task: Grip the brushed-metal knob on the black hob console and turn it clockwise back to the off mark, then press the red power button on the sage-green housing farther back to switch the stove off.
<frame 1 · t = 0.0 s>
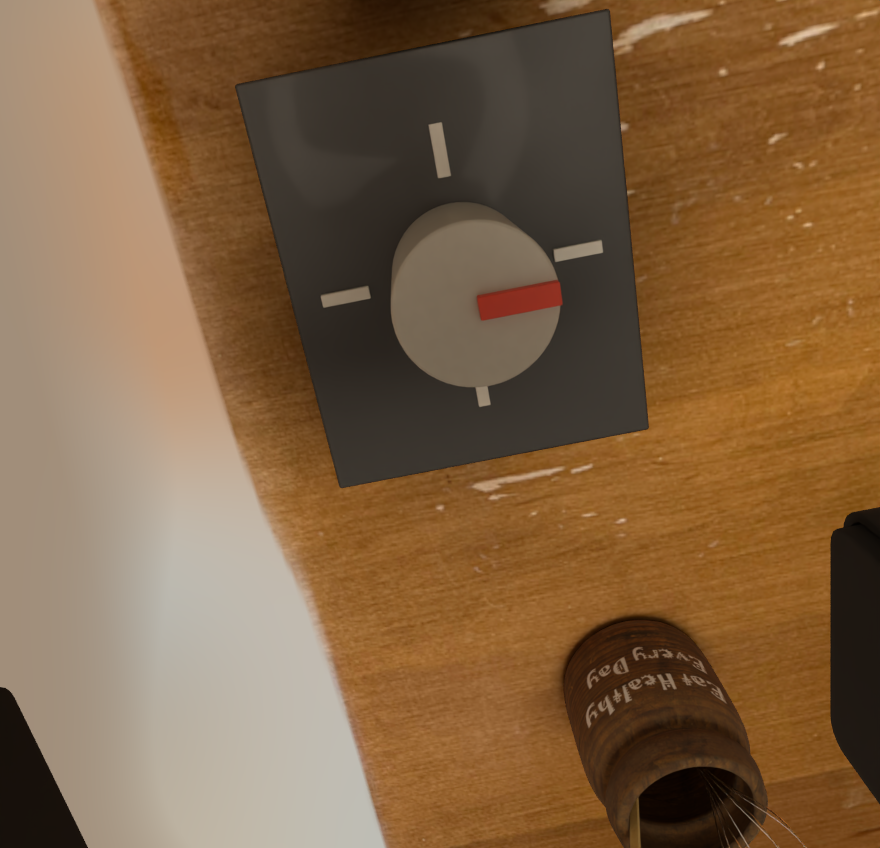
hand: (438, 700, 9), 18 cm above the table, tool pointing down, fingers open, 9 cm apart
utensil holder: (626, 671, 32), on the table
hob console: (454, 257, 25), on the table
hob knob: (468, 289, 20), point 5 cm above the table, hinge at 90.0°
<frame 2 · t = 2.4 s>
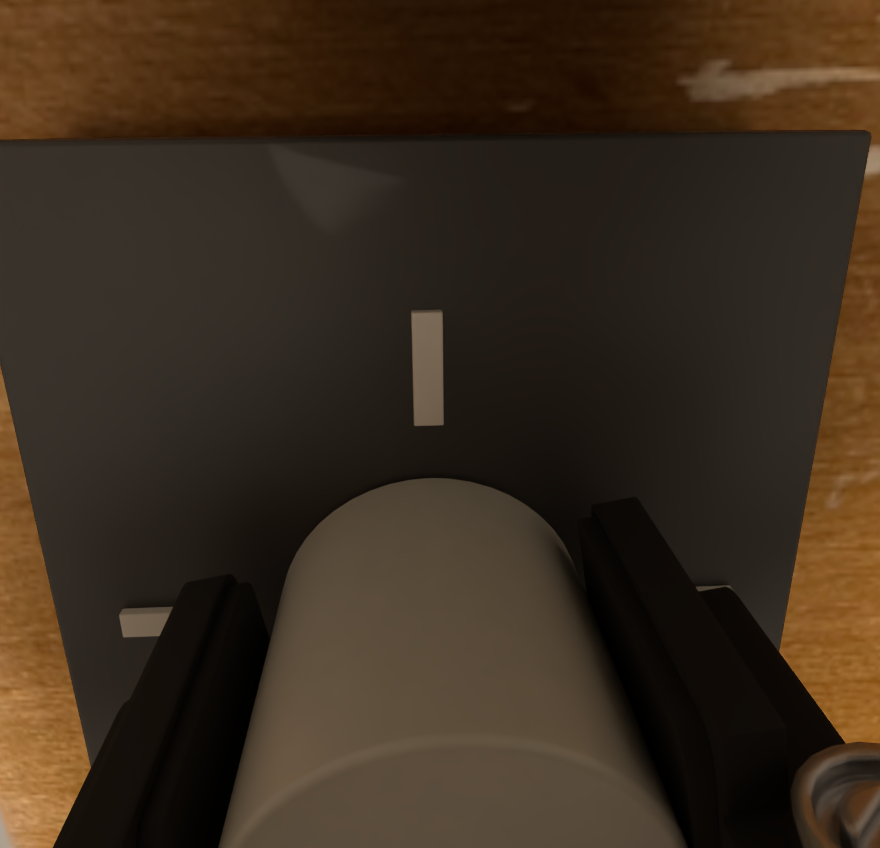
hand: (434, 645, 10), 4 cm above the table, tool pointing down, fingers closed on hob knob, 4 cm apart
hob console: (424, 506, 13), on the table
hob knob: (441, 741, 8), point 5 cm above the table, hinge at 89.9°, touching gripper
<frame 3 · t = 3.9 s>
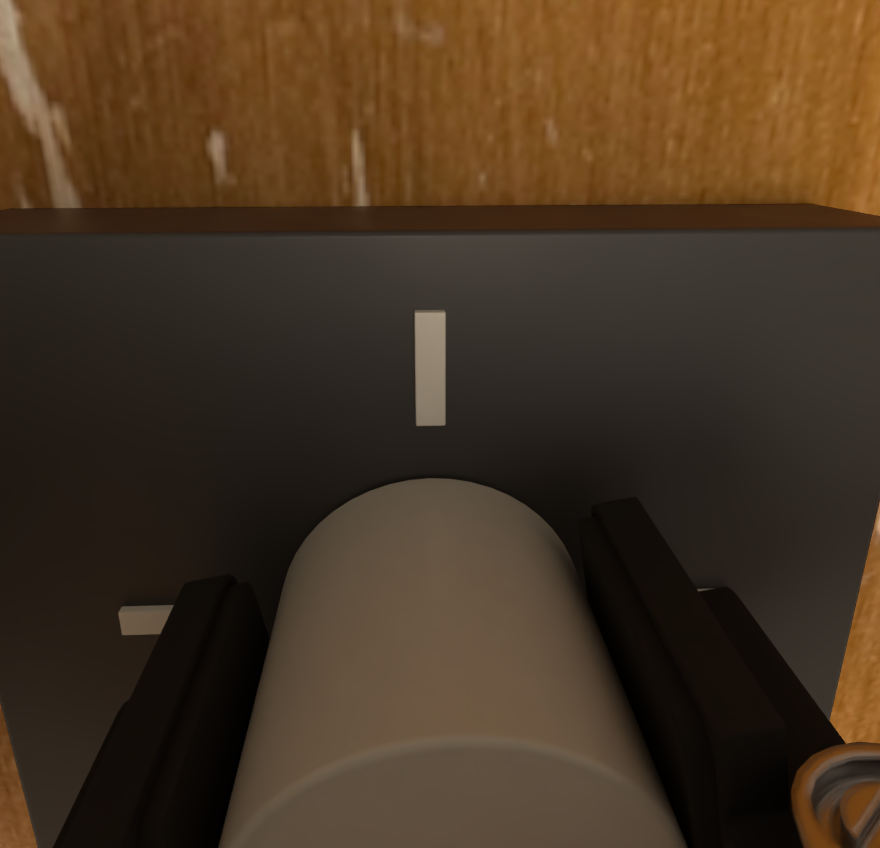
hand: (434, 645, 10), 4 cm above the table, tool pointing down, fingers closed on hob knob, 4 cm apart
hob console: (424, 506, 13), on the table
hob knob: (441, 742, 8), point 5 cm above the table, hinge at 0.5°, touching gripper
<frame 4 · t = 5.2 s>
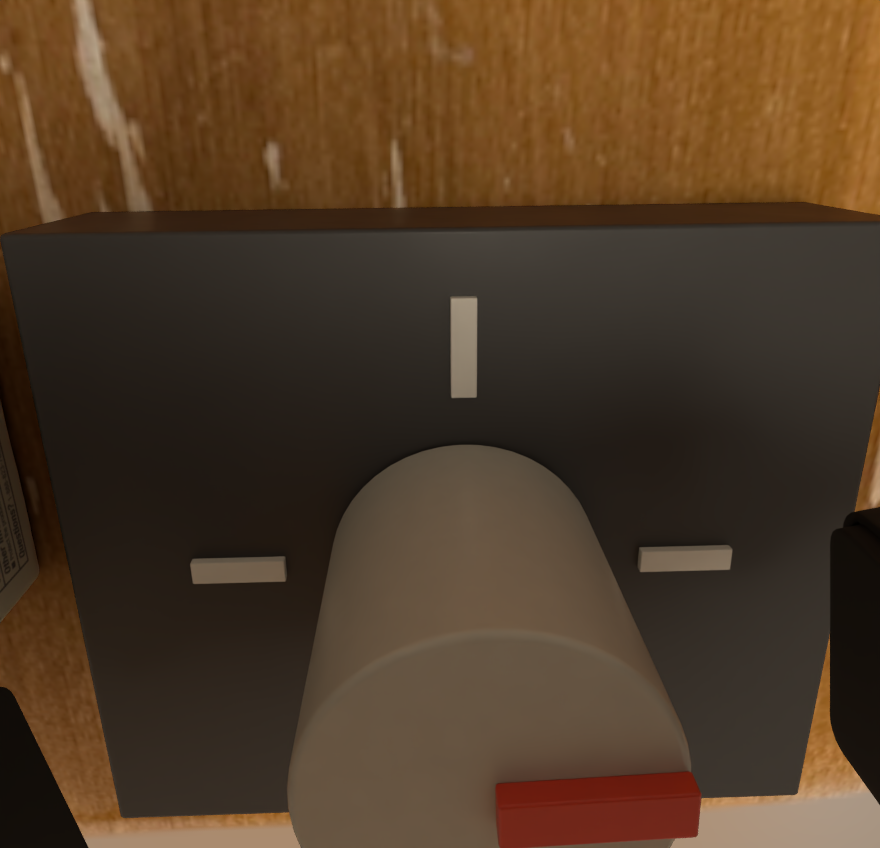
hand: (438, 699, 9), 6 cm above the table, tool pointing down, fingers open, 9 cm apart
hob console: (453, 479, 15), on the table
hob knob: (475, 664, 9), point 5 cm above the table, hinge at 2.2°
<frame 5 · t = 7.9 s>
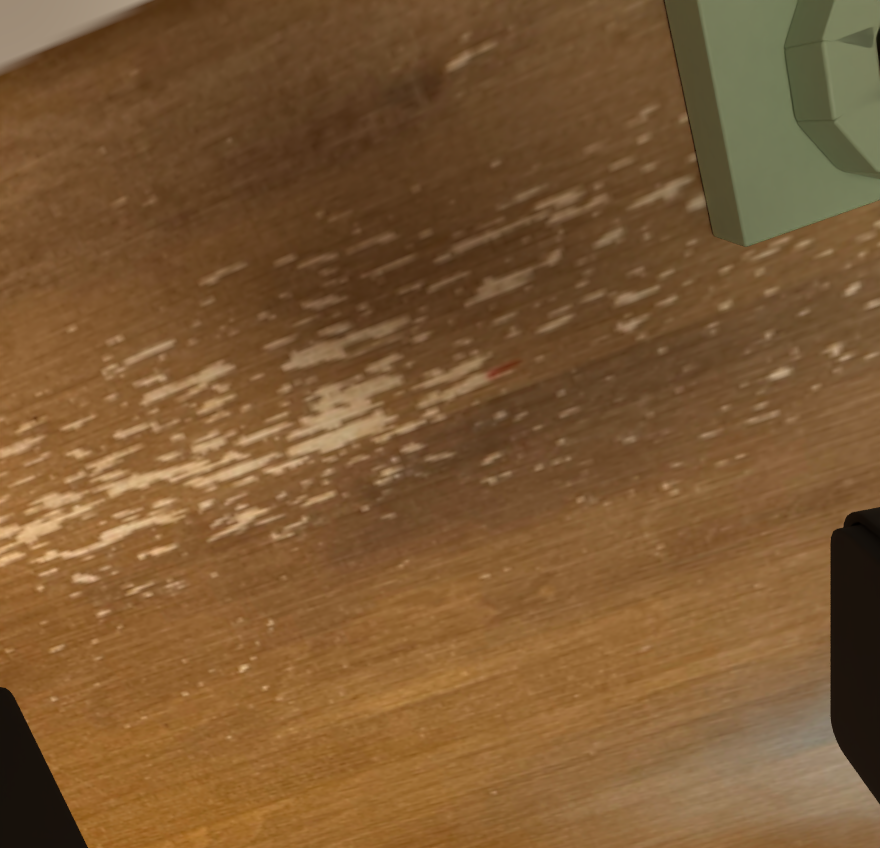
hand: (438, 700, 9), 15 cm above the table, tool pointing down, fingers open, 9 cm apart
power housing: (867, 46, 20), on the table
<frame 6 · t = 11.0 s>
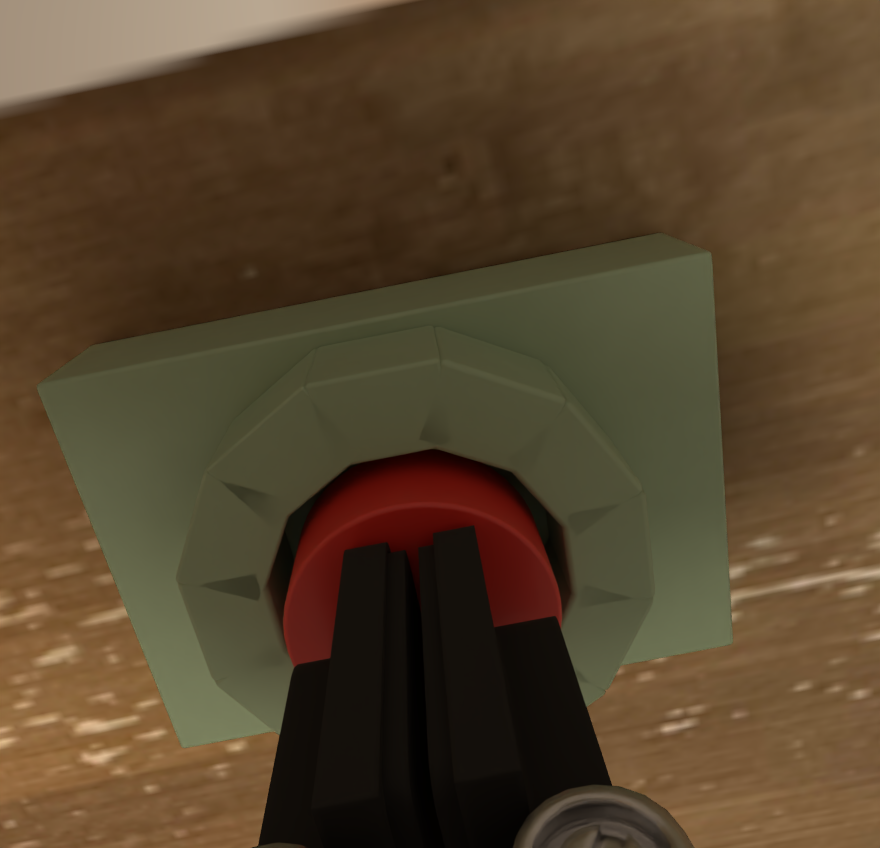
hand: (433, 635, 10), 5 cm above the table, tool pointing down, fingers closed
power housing: (414, 471, 14), on the table
power button: (421, 590, 11), point 4 cm above the table, slide at -0.4 cm, touching gripper
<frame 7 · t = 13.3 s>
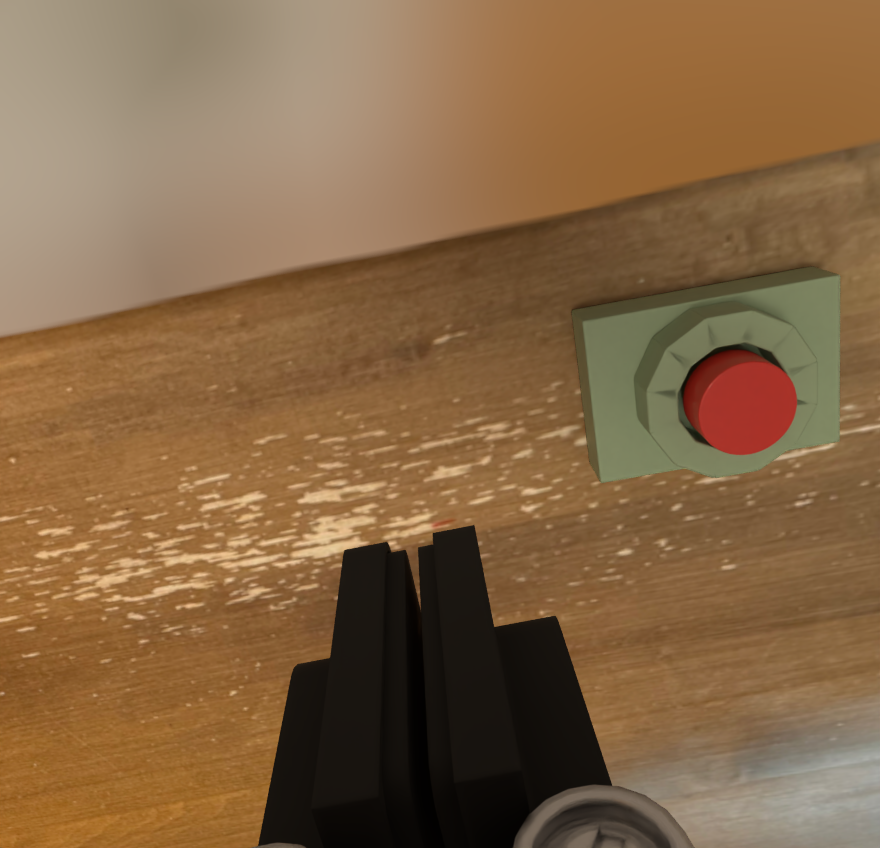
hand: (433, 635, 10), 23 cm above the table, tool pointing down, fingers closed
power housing: (696, 368, 33), on the table
power button: (738, 402, 28), point 4 cm above the table, slide at 0.1 cm
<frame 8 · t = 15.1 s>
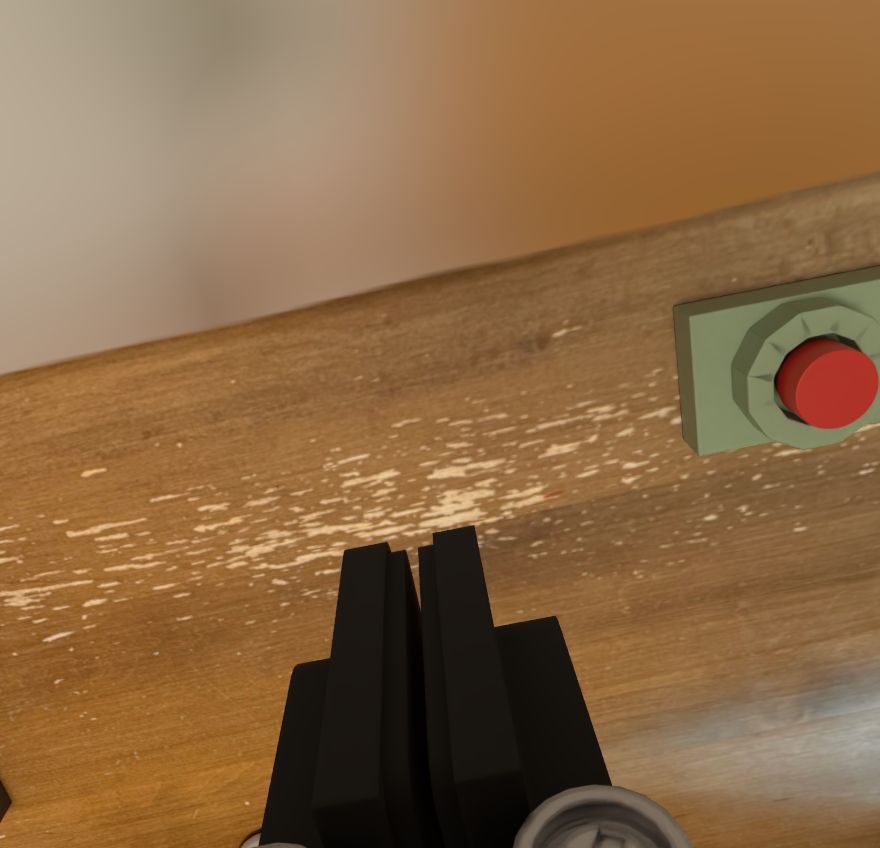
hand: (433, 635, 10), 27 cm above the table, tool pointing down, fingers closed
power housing: (778, 355, 37), on the table
power button: (826, 383, 33), point 4 cm above the table, slide at 0.1 cm
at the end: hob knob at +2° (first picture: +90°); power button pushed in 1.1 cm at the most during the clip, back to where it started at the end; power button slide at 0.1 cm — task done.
